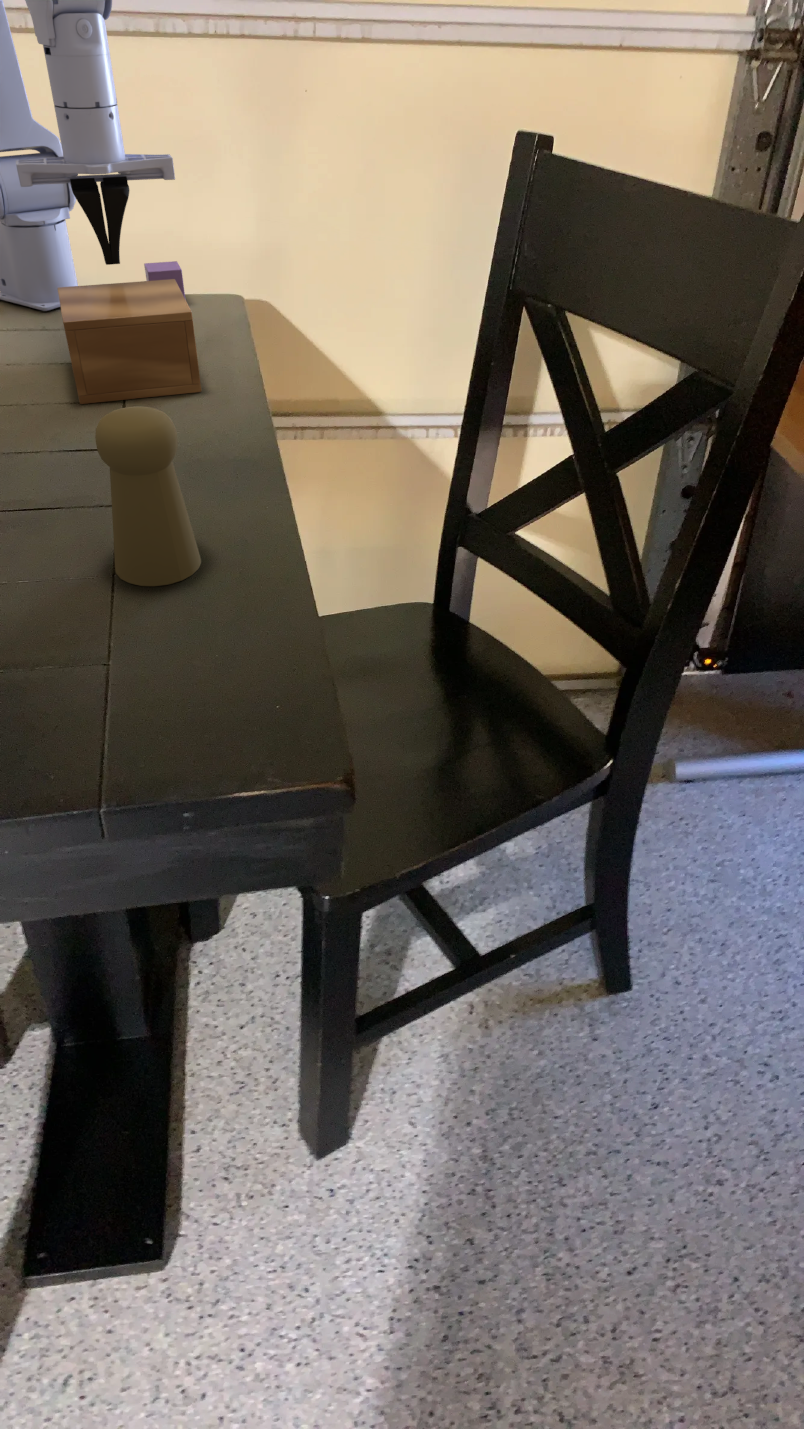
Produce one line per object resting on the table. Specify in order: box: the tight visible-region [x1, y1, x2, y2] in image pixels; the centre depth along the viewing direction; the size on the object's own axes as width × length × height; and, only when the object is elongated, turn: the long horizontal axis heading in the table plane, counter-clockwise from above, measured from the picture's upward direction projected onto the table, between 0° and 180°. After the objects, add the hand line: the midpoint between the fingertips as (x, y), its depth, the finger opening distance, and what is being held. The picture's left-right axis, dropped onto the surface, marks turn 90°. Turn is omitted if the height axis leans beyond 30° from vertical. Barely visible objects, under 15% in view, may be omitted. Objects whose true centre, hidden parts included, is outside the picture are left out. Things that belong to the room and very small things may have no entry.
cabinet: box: [57, 279, 202, 405], centre depth 94 cm, size 12×12×8 cm
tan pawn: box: [94, 405, 202, 587], centre depth 64 cm, size 6×6×11 cm
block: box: [143, 260, 186, 299], centre depth 116 cm, size 4×4×4 cm
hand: (112, 261), depth 97 cm, fingers closed
